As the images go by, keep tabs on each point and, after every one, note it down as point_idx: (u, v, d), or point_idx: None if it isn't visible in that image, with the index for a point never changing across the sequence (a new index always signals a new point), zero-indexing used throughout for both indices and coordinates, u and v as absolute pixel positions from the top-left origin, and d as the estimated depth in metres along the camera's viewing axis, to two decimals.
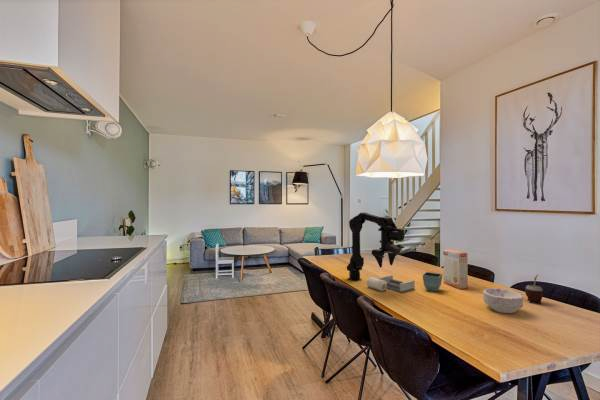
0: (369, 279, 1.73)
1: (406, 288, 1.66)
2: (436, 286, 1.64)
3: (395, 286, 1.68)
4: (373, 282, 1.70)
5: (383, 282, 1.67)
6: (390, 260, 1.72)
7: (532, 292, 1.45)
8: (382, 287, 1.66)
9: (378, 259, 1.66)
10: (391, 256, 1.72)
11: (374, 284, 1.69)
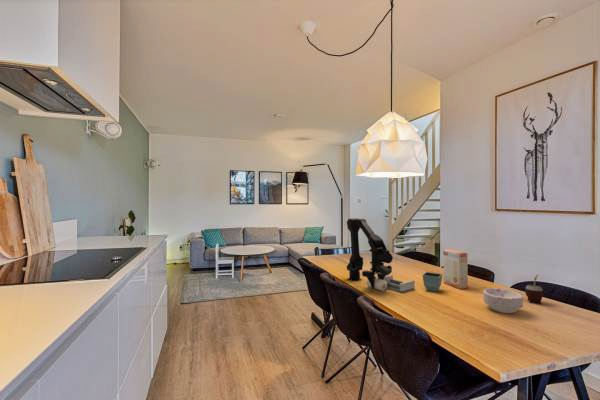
0: None
1: (406, 288, 1.66)
2: (436, 286, 1.64)
3: (395, 286, 1.68)
4: None
5: (383, 282, 1.67)
6: None
7: (532, 292, 1.45)
8: (382, 287, 1.66)
9: (370, 280, 1.69)
10: (380, 277, 1.73)
11: (374, 284, 1.69)
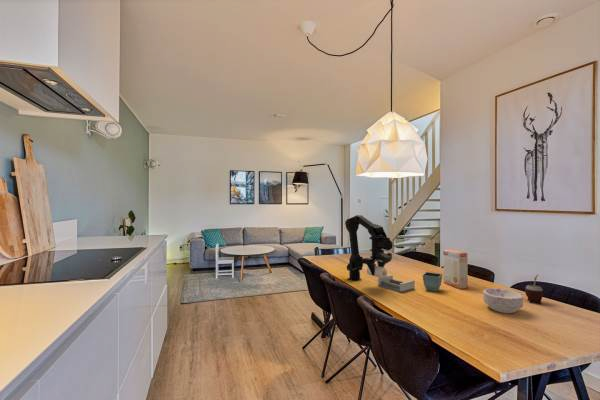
0: None
1: (406, 288, 1.66)
2: (436, 286, 1.64)
3: (395, 286, 1.68)
4: None
5: (383, 269, 1.67)
6: None
7: (532, 292, 1.45)
8: (382, 274, 1.66)
9: (370, 267, 1.69)
10: (380, 265, 1.73)
11: None
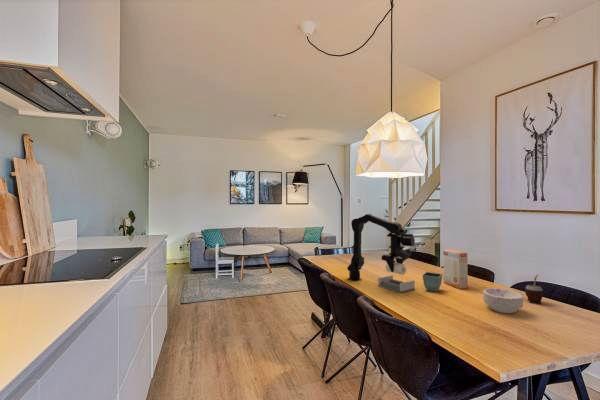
0: None
1: (406, 288, 1.66)
2: (436, 286, 1.64)
3: (395, 286, 1.68)
4: None
5: (403, 266, 1.69)
6: None
7: (532, 292, 1.45)
8: (402, 270, 1.68)
9: (390, 264, 1.71)
10: (399, 261, 1.75)
11: None
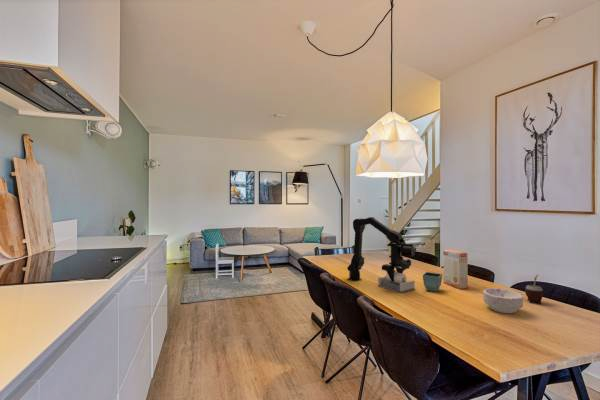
0: None
1: (406, 288, 1.66)
2: (436, 286, 1.64)
3: (395, 286, 1.68)
4: None
5: (403, 275, 1.69)
6: None
7: (532, 292, 1.45)
8: (402, 280, 1.68)
9: (390, 273, 1.71)
10: (399, 271, 1.75)
11: (394, 277, 1.71)
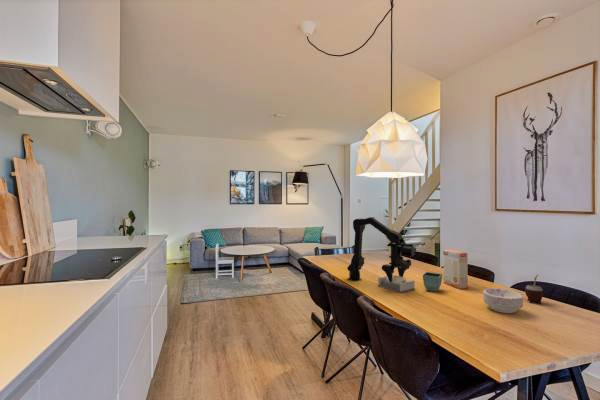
0: None
1: (406, 288, 1.66)
2: (436, 286, 1.64)
3: (395, 286, 1.68)
4: (393, 279, 1.72)
5: (403, 279, 1.69)
6: (400, 274, 1.76)
7: (532, 292, 1.45)
8: None
9: (388, 274, 1.70)
10: (401, 271, 1.76)
11: (394, 281, 1.71)
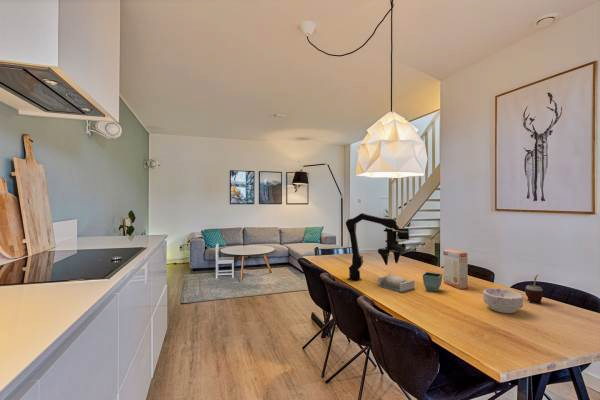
0: (388, 276, 1.75)
1: (406, 288, 1.66)
2: (436, 286, 1.64)
3: (395, 286, 1.68)
4: (393, 279, 1.72)
5: (403, 279, 1.69)
6: (395, 258, 1.86)
7: (532, 292, 1.45)
8: None
9: (384, 257, 1.81)
10: (396, 255, 1.86)
11: (394, 281, 1.71)
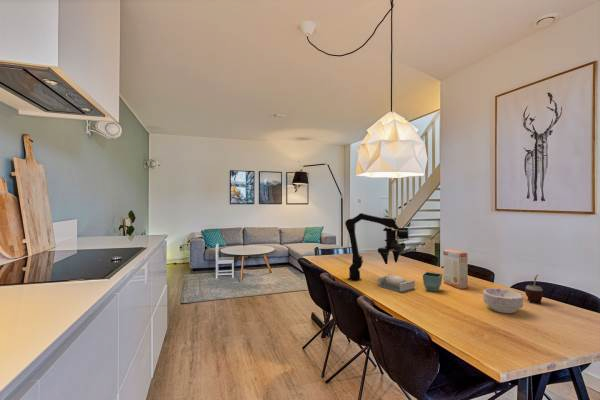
0: (388, 276, 1.75)
1: (406, 288, 1.66)
2: (436, 286, 1.64)
3: (395, 286, 1.68)
4: (392, 279, 1.72)
5: (403, 279, 1.69)
6: (395, 257, 1.88)
7: (532, 292, 1.45)
8: None
9: (384, 256, 1.82)
10: (396, 254, 1.87)
11: (394, 281, 1.71)
